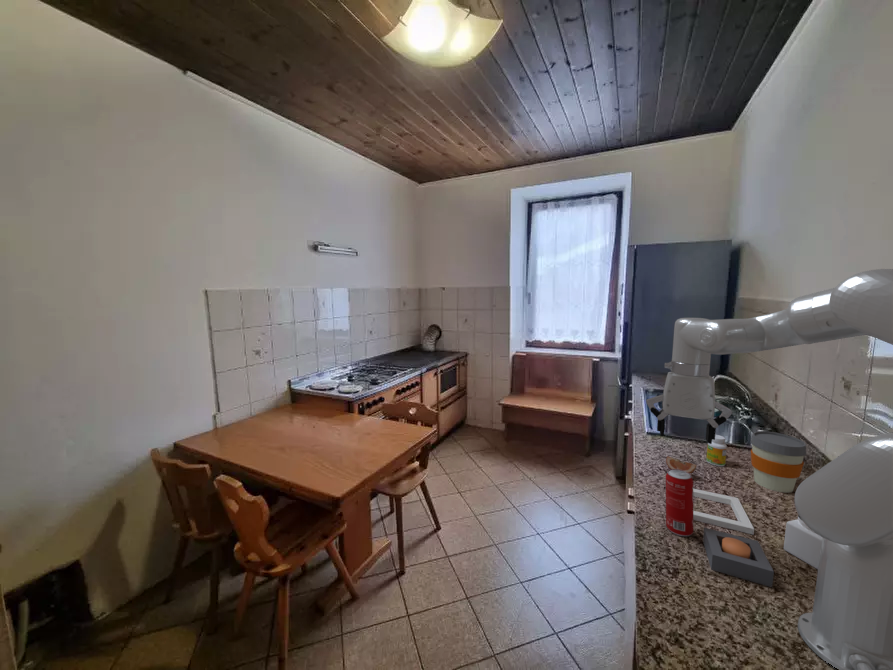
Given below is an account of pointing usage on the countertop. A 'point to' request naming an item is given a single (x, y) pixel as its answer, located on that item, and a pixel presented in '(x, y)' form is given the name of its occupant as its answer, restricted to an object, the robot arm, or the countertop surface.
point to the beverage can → (679, 502)
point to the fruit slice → (680, 465)
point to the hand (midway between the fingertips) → (684, 437)
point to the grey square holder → (738, 559)
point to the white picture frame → (740, 525)
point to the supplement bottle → (717, 451)
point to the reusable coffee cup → (777, 460)
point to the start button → (735, 547)
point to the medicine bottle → (803, 542)
